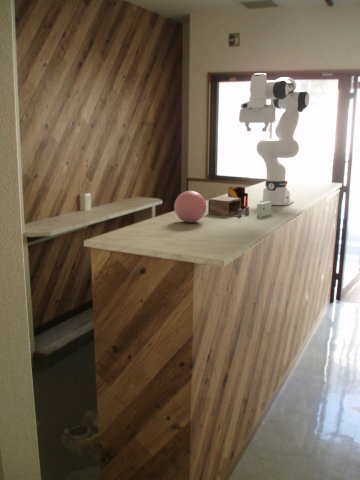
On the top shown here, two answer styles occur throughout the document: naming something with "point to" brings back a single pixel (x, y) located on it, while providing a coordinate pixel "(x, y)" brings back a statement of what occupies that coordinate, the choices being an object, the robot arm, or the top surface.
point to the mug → (239, 195)
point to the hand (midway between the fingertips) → (256, 131)
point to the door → (264, 209)
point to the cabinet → (226, 206)
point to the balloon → (190, 206)
